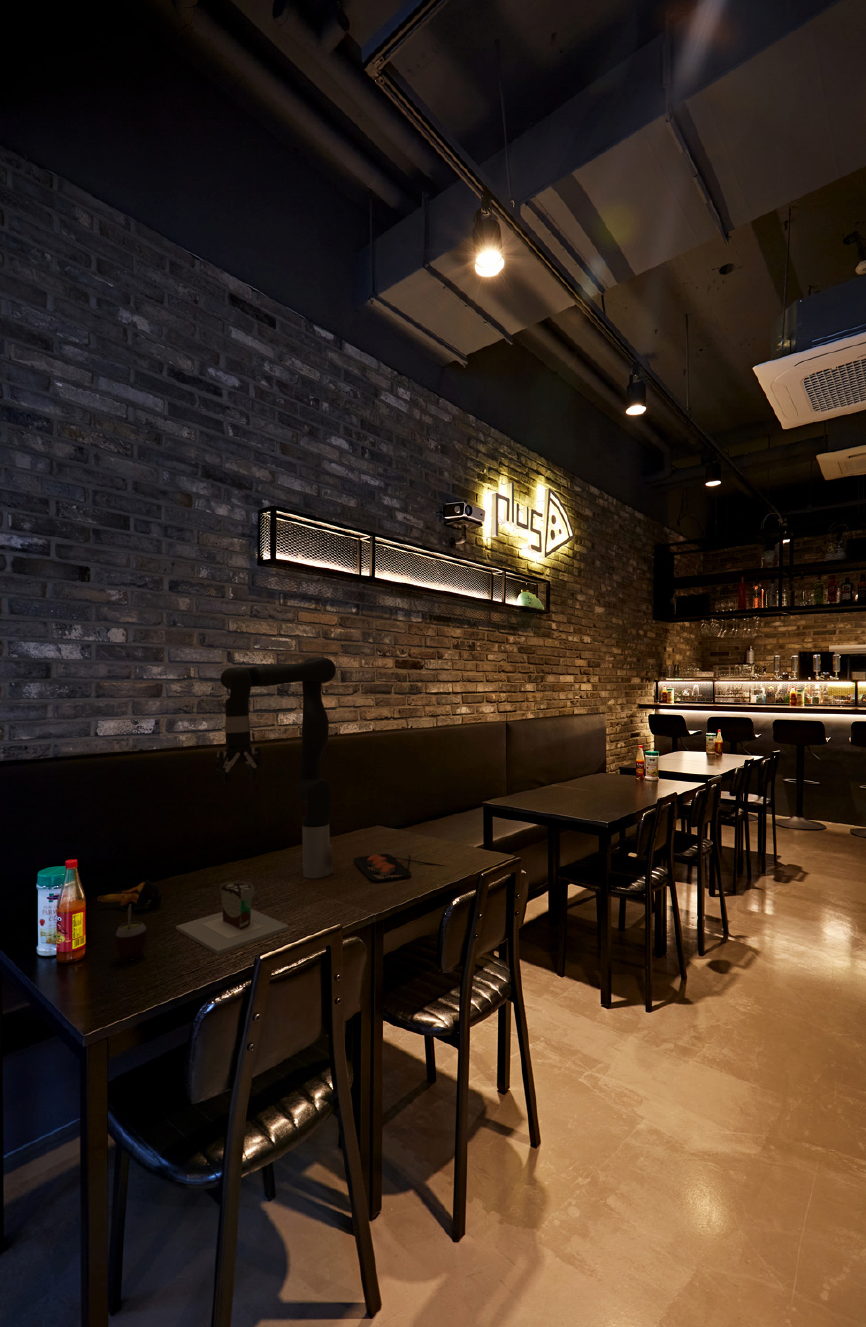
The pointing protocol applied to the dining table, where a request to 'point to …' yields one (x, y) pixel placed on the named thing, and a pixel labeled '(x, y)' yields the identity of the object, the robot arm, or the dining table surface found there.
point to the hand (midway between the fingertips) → (239, 782)
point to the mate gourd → (130, 939)
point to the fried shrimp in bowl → (136, 897)
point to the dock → (230, 931)
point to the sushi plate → (384, 866)
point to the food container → (237, 903)
